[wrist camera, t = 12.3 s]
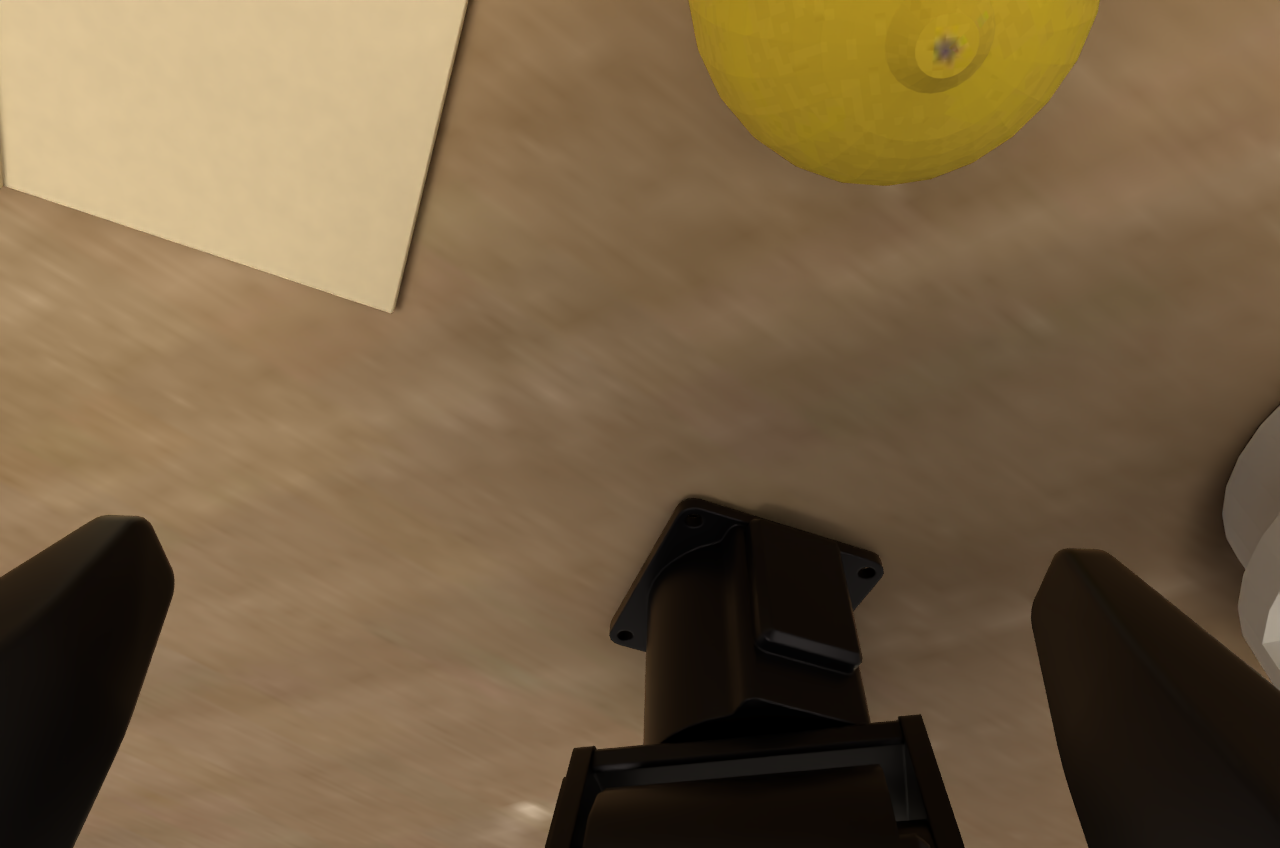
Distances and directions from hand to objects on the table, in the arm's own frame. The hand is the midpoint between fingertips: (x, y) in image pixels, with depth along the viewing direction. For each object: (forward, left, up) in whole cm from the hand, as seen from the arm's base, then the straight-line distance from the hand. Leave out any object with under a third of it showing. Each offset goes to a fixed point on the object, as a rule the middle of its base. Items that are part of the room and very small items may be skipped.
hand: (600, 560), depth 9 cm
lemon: (+5, -2, -12) cm, 13 cm away
